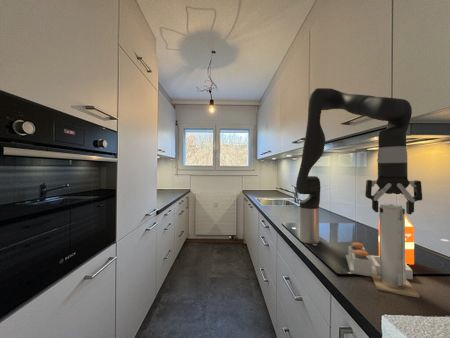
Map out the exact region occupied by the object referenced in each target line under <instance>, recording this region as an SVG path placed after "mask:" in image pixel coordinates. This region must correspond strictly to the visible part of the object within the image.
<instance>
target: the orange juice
mask: <svg viewBox="0 0 450 338" xmlns="http://www.w3.org/2000/svg"><path fill="white" fill-rule="evenodd" d="M414 228H415V227H414V226H413V223H412V222H411V221H410V219H409V218H408V217H407V214H405V263H406V264H409V265H415V229H414ZM377 236H378V238H377V239H378V256H380V227H379V226H378V235H377Z"/></svg>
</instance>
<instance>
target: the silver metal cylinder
mask: <svg viewBox="0 0 450 338" xmlns="http://www.w3.org/2000/svg"><path fill="white" fill-rule="evenodd" d="M378 213H379V215H378V217H379V220H378V228H379V227H380V281H381V283H383V284H384V285H386V286H389V287H392V288H398V289H401V288H405V286H406V285H405V215H406V209H405V208H404V207H403V205H401V204H396V203H395V204H393V203H380V206H378Z"/></svg>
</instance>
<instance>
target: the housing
mask: <svg viewBox="0 0 450 338" xmlns="http://www.w3.org/2000/svg"><path fill="white" fill-rule="evenodd" d="M362 250H364V251H366V252H367V250H366V249H365V247H364V246H363V248H362ZM345 259H346V263H347V266H348V269H349V273H350V272H351V273H350V274H354V275H358V276H359V275H360V276H367V277H371V275H380V256H379V255H373V254H370V255H368V256H366V260H365V259H358V258H356V254H355V253H354V250H353V247H352V246H351V245H348V254H345ZM413 277H414V276H413V270H412V268H411V267H410V266H409V265H407V264H406V263H405V279H407V280H413V281H414V278H413Z"/></svg>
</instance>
